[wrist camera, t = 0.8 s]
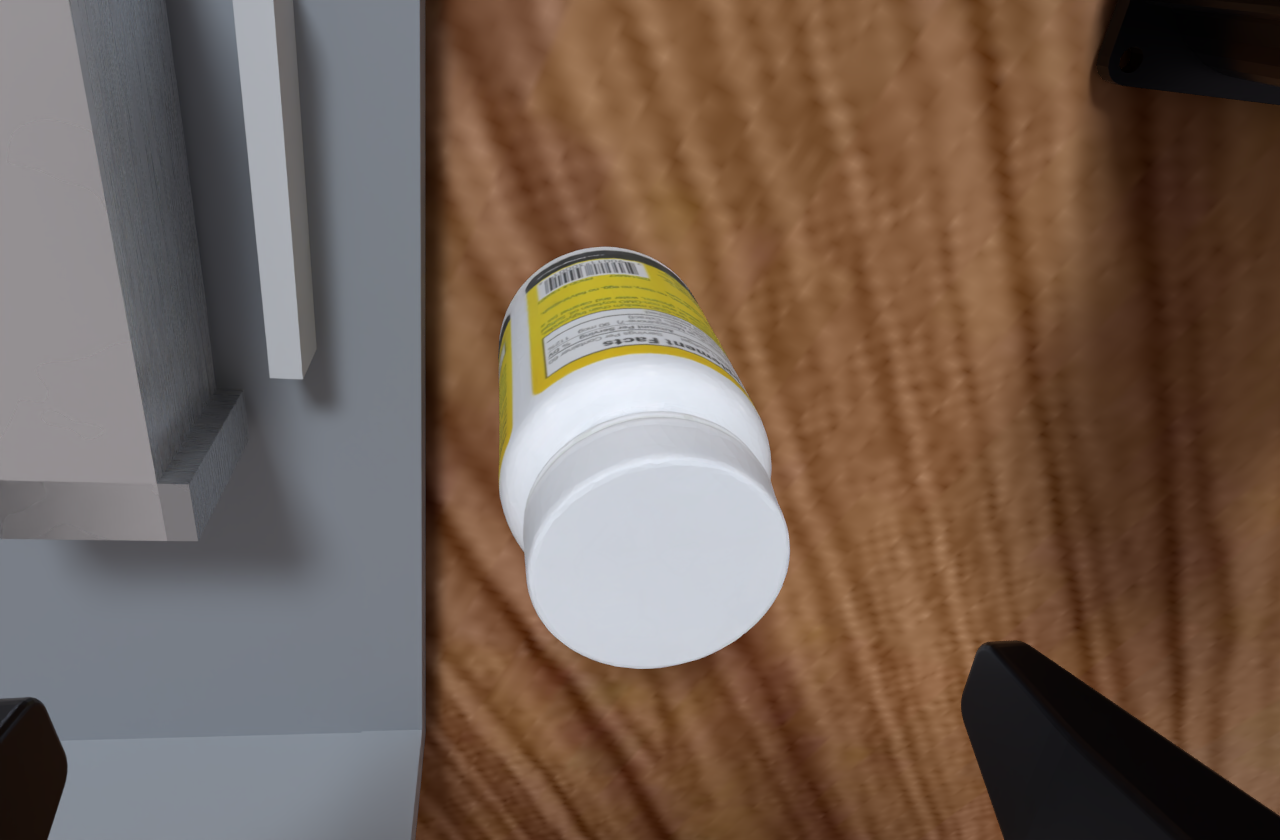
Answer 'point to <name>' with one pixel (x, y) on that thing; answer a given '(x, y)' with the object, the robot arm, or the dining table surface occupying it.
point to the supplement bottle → (633, 465)
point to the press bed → (268, 468)
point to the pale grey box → (102, 285)
